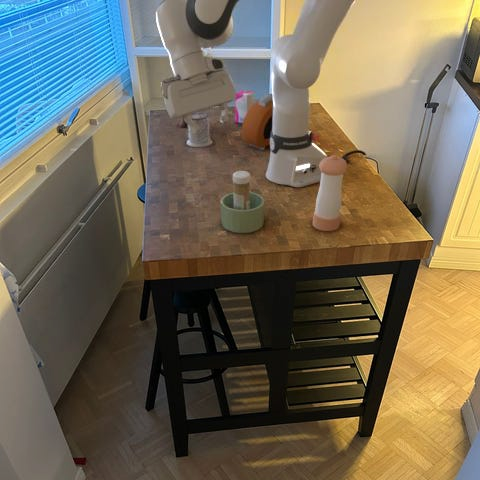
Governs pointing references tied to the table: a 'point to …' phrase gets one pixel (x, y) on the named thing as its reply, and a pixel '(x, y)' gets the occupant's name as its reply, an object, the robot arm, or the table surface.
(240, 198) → the sprinkles bottle
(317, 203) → the salt shaker
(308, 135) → the robot arm
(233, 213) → the cup
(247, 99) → the supplement box
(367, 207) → the table surface
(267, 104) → the alarm clock
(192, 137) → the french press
